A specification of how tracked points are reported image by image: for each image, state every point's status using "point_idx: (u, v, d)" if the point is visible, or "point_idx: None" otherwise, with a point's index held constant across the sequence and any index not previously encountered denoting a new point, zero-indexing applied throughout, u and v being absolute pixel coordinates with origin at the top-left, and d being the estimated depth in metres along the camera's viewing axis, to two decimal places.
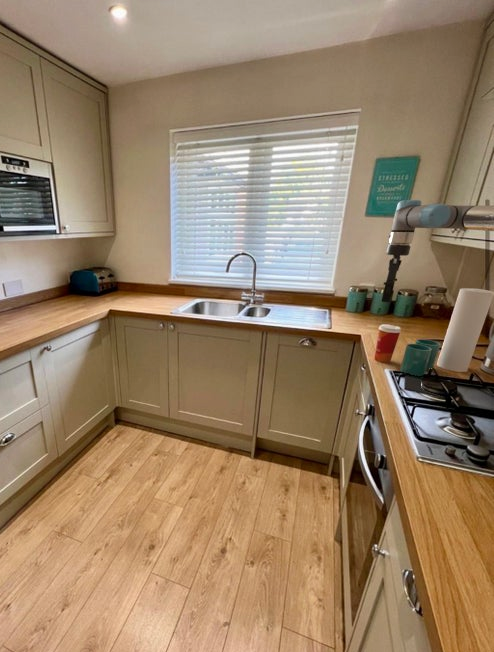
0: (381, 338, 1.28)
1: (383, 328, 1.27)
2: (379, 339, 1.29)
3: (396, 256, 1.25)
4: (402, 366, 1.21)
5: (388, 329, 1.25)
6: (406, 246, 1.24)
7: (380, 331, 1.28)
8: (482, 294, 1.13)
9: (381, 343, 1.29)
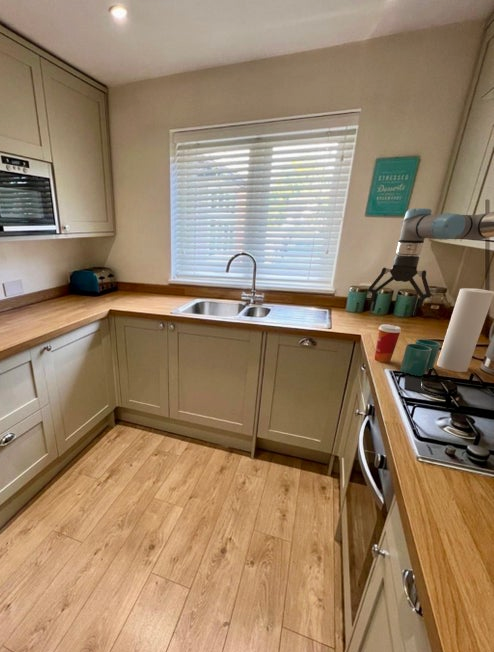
0: (381, 338, 1.28)
1: (383, 328, 1.27)
2: (379, 339, 1.29)
3: (416, 268, 1.19)
4: (402, 366, 1.21)
5: (388, 329, 1.25)
6: None
7: (380, 331, 1.28)
8: (482, 294, 1.13)
9: (381, 343, 1.29)
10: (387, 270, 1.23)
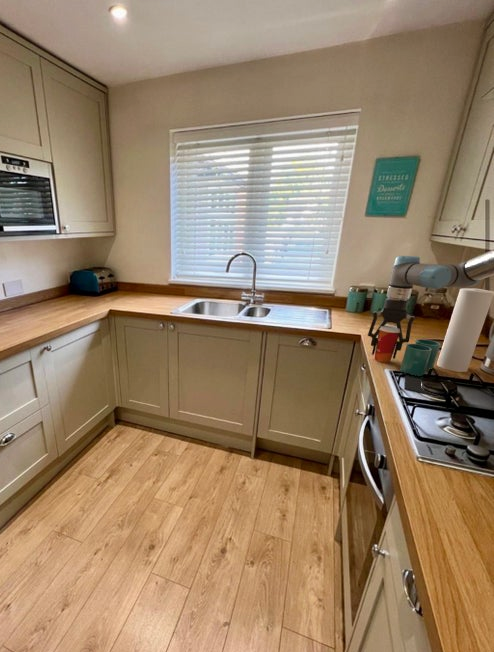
0: (381, 338, 1.28)
1: (383, 328, 1.27)
2: (379, 339, 1.29)
3: None
4: (402, 366, 1.21)
5: (388, 329, 1.25)
6: None
7: (380, 331, 1.28)
8: (482, 294, 1.13)
9: (381, 343, 1.29)
10: (378, 313, 1.28)
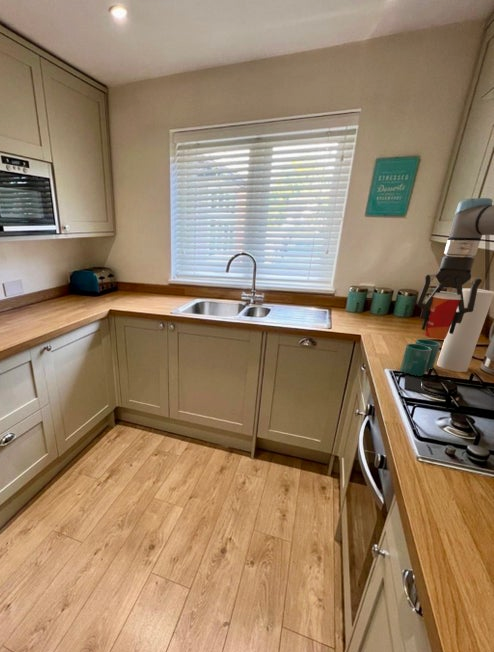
0: (435, 308, 1.02)
1: (439, 295, 1.01)
2: (433, 309, 1.03)
3: None
4: (402, 366, 1.21)
5: (446, 295, 0.99)
6: None
7: (434, 299, 1.02)
8: (482, 294, 1.13)
9: (435, 314, 1.02)
10: (432, 276, 1.02)
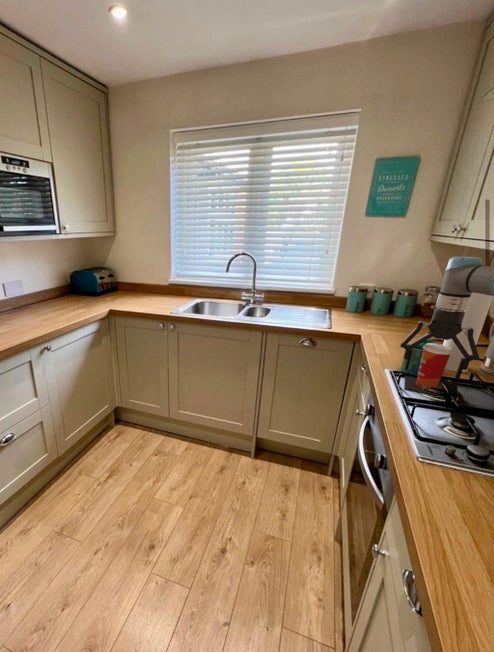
0: (426, 360, 1.05)
1: (430, 348, 1.04)
2: (424, 361, 1.06)
3: (461, 324, 1.00)
4: (402, 366, 1.21)
5: (436, 350, 1.02)
6: None
7: (425, 352, 1.05)
8: (482, 294, 1.13)
9: (426, 367, 1.06)
10: (424, 325, 1.05)
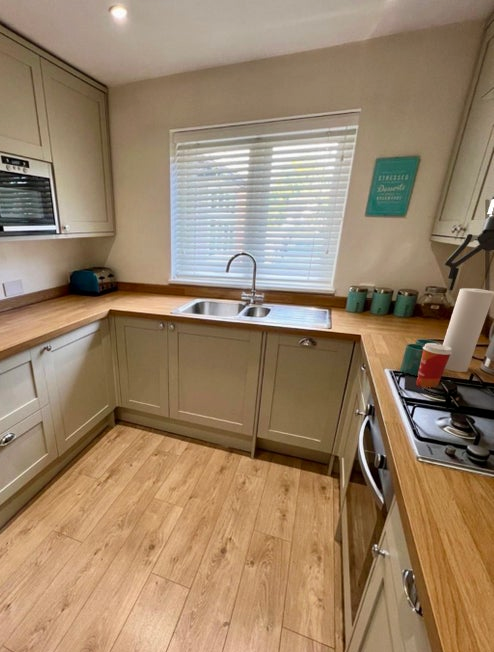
0: (426, 360, 1.05)
1: (430, 348, 1.04)
2: (424, 361, 1.06)
3: None
4: (402, 366, 1.21)
5: (436, 350, 1.02)
6: None
7: (425, 352, 1.05)
8: (482, 294, 1.13)
9: (426, 367, 1.06)
10: (474, 237, 0.96)
